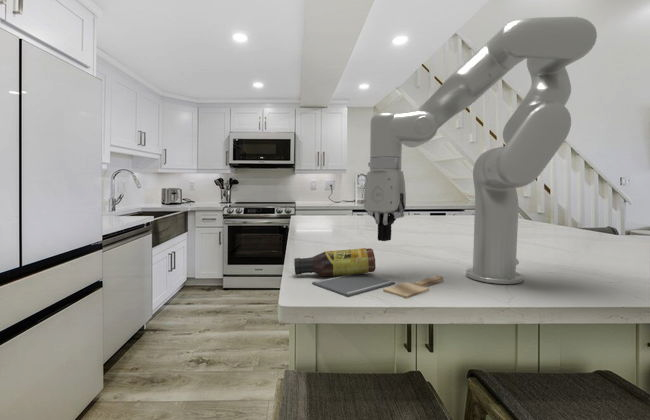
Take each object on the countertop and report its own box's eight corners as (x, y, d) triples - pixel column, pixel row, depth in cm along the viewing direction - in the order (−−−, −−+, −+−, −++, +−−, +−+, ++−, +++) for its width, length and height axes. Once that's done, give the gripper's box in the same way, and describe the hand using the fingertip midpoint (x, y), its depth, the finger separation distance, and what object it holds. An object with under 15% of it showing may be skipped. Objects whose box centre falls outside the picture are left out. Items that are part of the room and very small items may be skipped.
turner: (429, 277, 85) (429, 273, 85) (451, 283, 80) (451, 278, 80) (383, 291, 74) (383, 287, 74) (406, 299, 70) (406, 294, 70)
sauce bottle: (376, 251, 83) (293, 258, 82) (377, 276, 84) (295, 283, 83) (370, 244, 90) (293, 251, 88) (371, 267, 91) (295, 274, 89)
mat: (358, 273, 89) (358, 271, 89) (395, 283, 80) (395, 281, 80) (311, 283, 79) (312, 281, 79) (348, 296, 70) (348, 294, 70)
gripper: (353, 166, 88) (352, 238, 89) (400, 163, 76) (399, 246, 78) (373, 167, 93) (372, 235, 94) (420, 165, 81) (418, 242, 82)
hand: (384, 240), depth 86 cm, fingers closed
